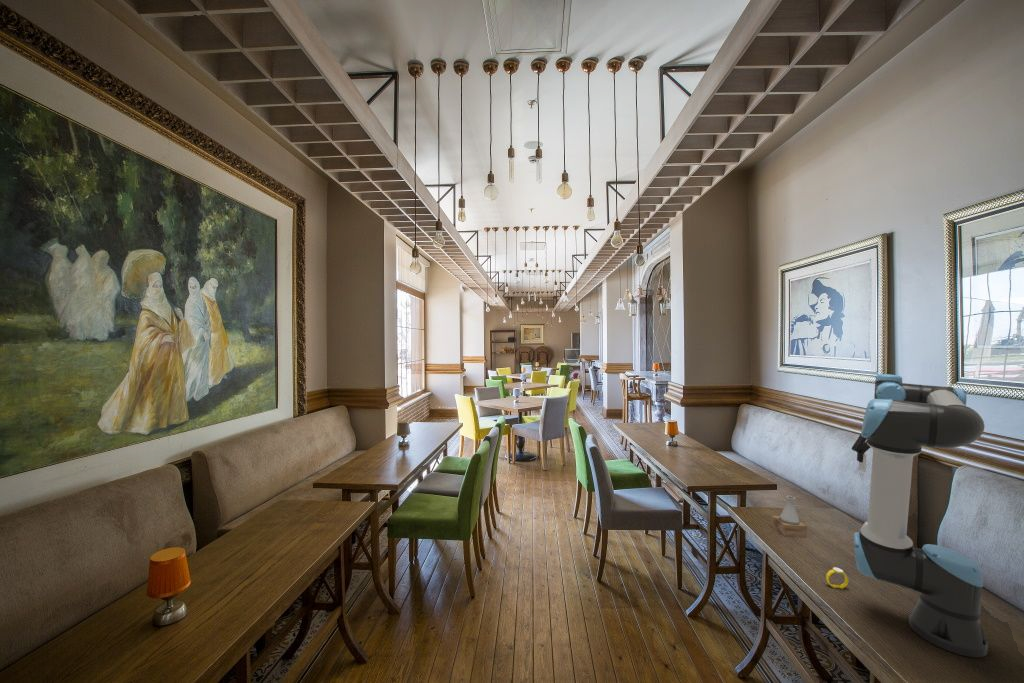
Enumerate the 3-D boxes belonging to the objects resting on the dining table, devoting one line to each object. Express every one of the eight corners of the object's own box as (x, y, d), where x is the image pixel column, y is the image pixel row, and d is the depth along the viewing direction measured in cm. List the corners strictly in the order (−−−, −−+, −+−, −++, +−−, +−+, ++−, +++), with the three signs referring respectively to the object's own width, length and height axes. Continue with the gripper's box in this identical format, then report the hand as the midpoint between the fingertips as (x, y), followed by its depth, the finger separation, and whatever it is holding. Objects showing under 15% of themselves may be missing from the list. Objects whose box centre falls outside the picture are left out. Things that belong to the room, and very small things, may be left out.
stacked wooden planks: (806, 538, 173) (807, 526, 172) (784, 537, 173) (784, 525, 172) (791, 527, 182) (792, 516, 181) (770, 526, 182) (771, 515, 181)
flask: (779, 522, 175) (781, 498, 175) (778, 515, 182) (779, 492, 181) (800, 526, 172) (802, 502, 171) (798, 519, 178) (800, 496, 178)
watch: (843, 586, 140) (846, 569, 140) (848, 591, 137) (851, 573, 137) (823, 582, 141) (826, 565, 141) (828, 587, 138) (830, 570, 138)
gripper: (916, 416, 160) (912, 471, 161) (842, 411, 164) (839, 466, 165) (932, 420, 152) (928, 478, 153) (855, 415, 156) (851, 472, 157)
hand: (882, 472), depth 159 cm, fingers open, 13 cm apart
